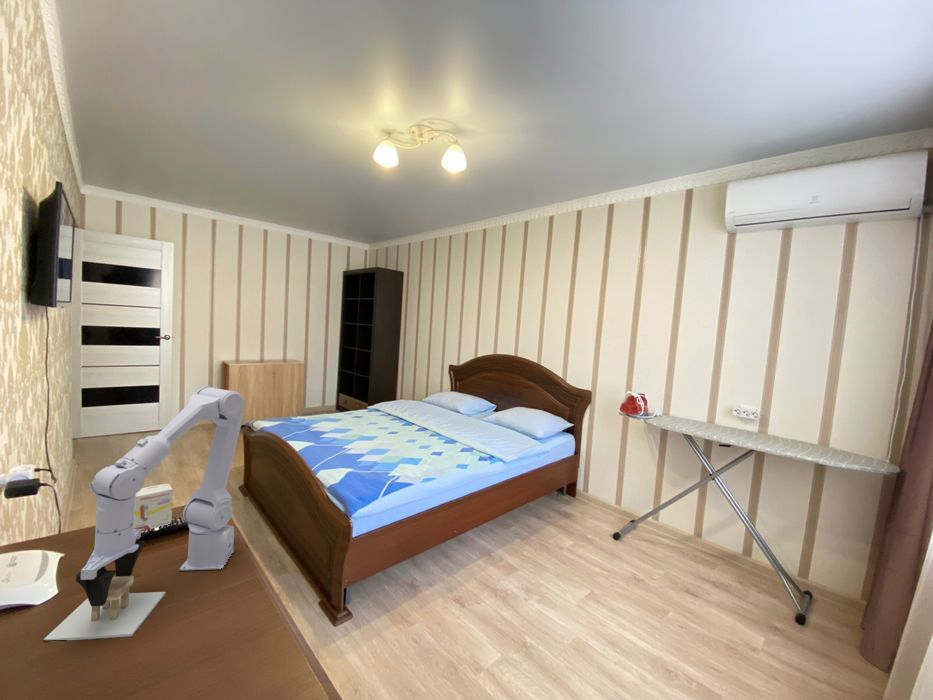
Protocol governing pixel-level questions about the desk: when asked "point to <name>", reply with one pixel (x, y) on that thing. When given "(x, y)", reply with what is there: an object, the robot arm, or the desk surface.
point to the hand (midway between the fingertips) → (111, 591)
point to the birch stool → (115, 597)
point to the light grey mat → (107, 619)
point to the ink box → (153, 507)
